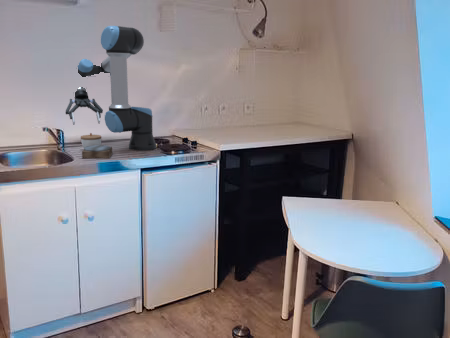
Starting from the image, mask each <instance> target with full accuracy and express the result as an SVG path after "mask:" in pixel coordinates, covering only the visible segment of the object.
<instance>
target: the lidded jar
mask: <svg viewBox="0 0 450 338" xmlns="http://www.w3.org/2000/svg"><path fill="white" fill-rule="evenodd" d="M80 142H81V145H82V147H83V149H84V147H87V146H93V145H102V135H100V134H93V133H92V132H90V133H89V134H84V135H81V136H80Z"/></svg>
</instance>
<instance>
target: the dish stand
mask: <svg viewBox="0 0 450 338" xmlns="http://www.w3.org/2000/svg"><path fill="white" fill-rule="evenodd" d="M112 155H113V146H109V145H106V144H103V145H102V144H101V145H93V146H87V147H84V148H83V150H82V151H81V156H82V157H81V159H110V158H111V156H112Z"/></svg>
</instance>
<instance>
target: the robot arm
mask: <svg viewBox="0 0 450 338" xmlns="http://www.w3.org/2000/svg"><path fill="white" fill-rule="evenodd" d="M144 43H145V39H144V36H143V34H142V32H141V31H140V30H139V29H137V28H135V27H129V26H128V27H127V26H120V25H107V26H106V27H105V28H104V29H103V30H102V32H101V35H100V45H101V47H102V49H104V50H105V51H106V52H105V53H106V55H107V57H105V59H104V60H102V63H101V62H100V63H101V67H100V66H96V65H93V63H94V62H92V61H91V60H90V59H87V58H83V59H81V60H80V61H79V62H78V64H79V65H78V64H77V67H78V73H79V74H80V75H81V76H82V77H86V76H88V77H92V76H91V75H94V74H99V73H100V72H104V73H110V76H109V77H110V96H111V97H110V98H111V99H110V100H111V104H110V105H109V106H108V110H107V111H106V112H105V114H104V122H105V126H106V127H107V129H108V130H109V131H110V132H111V133H115V134H117V133H125V132H126V133H127V132H131V136H130V140H129V142H128V149H129V150H132V151H150V150H151V151H152V150H155V149H156V148H157V143H156V140H155V138H154V134H153V111H152V109H151V108H149V107H142V106H141V107H140V106H131V105H130V104H129V87H128V85H129V84H128V62H127V61H128V60H127V59H128V58H130V57H131V56H133V55H137V54H139V52H140V51H142V49H143V48H144V45H145V44H144ZM86 89H87V88H86ZM86 89H85V88H83V87H79V88H78V89H77V91H76V92H75V97H74V99H72V98H70V99H69V103H68V105H67V107H66V108H65V115H68V116H69V120H72V126H73V125H75V123H76V121H75V116H74V115H75V114H74V113H75V111H77V109H79V108H88V109H90V110H91V111H92V112H94V113H95V114H96V121H97V124H100V123H101V116H102V114H103V112H104V109H103V108H102V107H101V105H99V103H97V102H96V100H95V98H92V99H90V98H89V94H88V91H87V92H86ZM73 104H74V105H73ZM72 106H73V107H72Z"/></svg>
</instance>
